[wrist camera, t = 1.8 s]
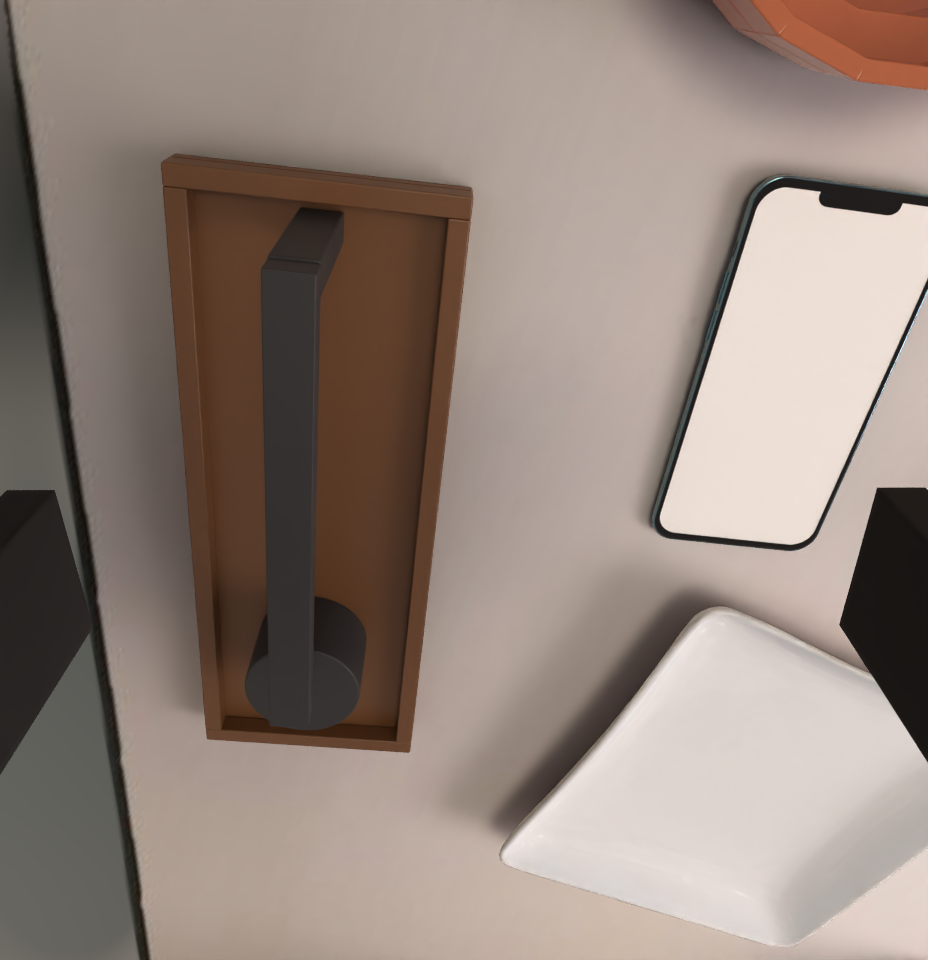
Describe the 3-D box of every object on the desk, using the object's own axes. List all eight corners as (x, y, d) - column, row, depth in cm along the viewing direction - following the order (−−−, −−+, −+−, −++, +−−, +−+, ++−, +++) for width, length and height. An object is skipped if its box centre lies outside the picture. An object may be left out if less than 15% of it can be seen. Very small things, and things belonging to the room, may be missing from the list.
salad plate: (487, 817, 48) (489, 871, 45) (693, 560, 38) (713, 608, 35) (773, 904, 53) (792, 958, 50) (1020, 698, 43) (1061, 750, 41)
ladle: (364, 678, 41) (349, 796, 35) (261, 671, 41) (228, 788, 35) (394, 216, 29) (379, 277, 23) (249, 200, 29) (195, 258, 23)
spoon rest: (174, 153, 29) (160, 161, 27) (472, 187, 29) (473, 197, 28) (214, 716, 44) (206, 739, 42) (411, 729, 44) (409, 753, 43)
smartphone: (807, 547, 38) (962, 197, 30) (811, 553, 38) (970, 201, 29) (643, 530, 37) (755, 168, 29) (646, 537, 37) (759, 171, 28)
